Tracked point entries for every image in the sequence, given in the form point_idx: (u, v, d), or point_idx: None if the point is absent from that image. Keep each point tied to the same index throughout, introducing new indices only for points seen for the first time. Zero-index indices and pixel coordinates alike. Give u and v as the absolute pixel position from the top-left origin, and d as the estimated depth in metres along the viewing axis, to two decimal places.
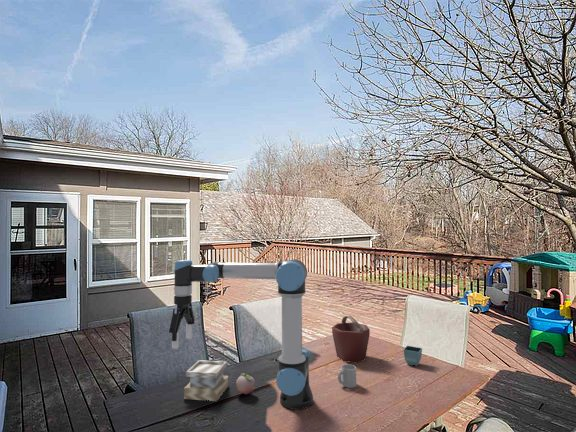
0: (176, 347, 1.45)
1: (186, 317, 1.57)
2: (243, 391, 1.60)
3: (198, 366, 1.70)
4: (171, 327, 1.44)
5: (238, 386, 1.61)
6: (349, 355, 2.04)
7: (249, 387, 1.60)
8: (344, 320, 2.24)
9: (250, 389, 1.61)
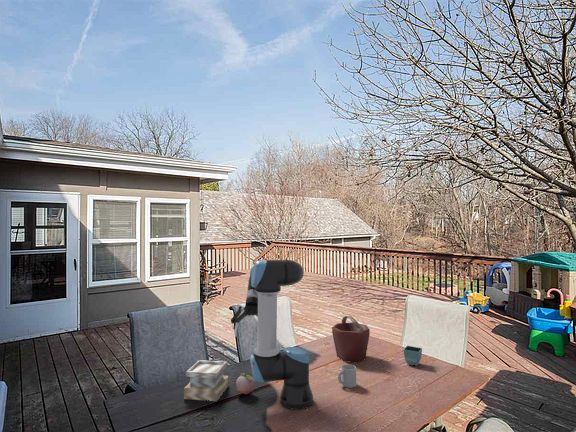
0: None
1: None
2: (243, 391, 1.60)
3: (198, 366, 1.70)
4: None
5: (238, 386, 1.61)
6: (349, 355, 2.04)
7: (249, 387, 1.60)
8: (344, 320, 2.24)
9: (250, 389, 1.61)
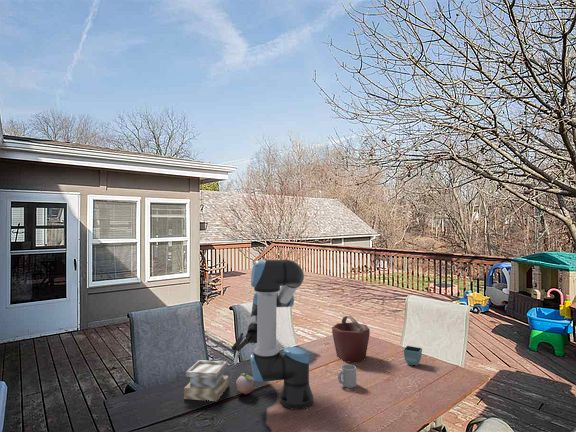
0: None
1: None
2: (243, 391, 1.60)
3: (198, 366, 1.70)
4: None
5: (238, 386, 1.61)
6: (349, 355, 2.04)
7: (249, 387, 1.60)
8: (344, 320, 2.24)
9: (250, 389, 1.61)
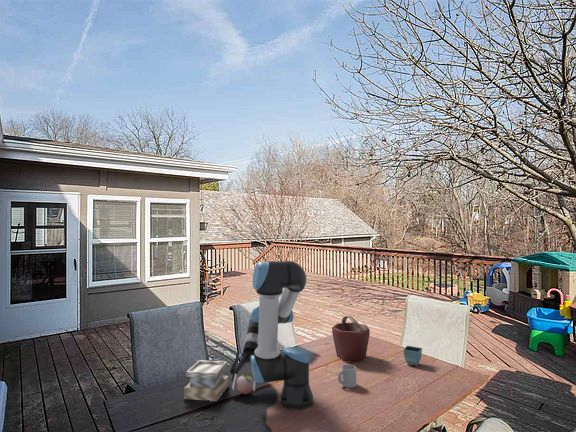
0: None
1: None
2: (243, 391, 1.60)
3: (198, 366, 1.70)
4: None
5: (238, 386, 1.61)
6: (349, 355, 2.04)
7: (249, 387, 1.60)
8: (344, 320, 2.24)
9: (250, 389, 1.61)
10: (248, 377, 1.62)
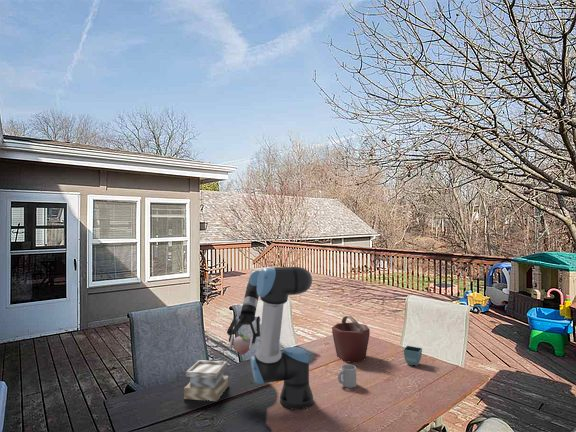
0: None
1: (251, 328, 1.70)
2: (239, 350, 1.62)
3: (198, 366, 1.70)
4: None
5: (234, 346, 1.63)
6: (349, 355, 2.04)
7: (245, 347, 1.62)
8: (344, 320, 2.24)
9: (246, 349, 1.63)
10: (245, 337, 1.64)
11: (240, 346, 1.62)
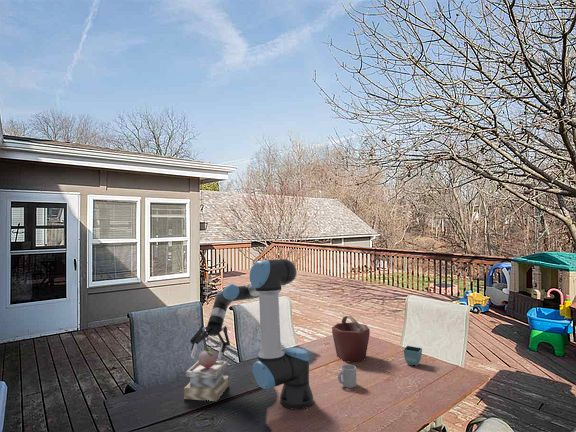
0: None
1: (219, 338, 1.72)
2: (204, 365, 1.64)
3: (198, 366, 1.70)
4: None
5: (199, 360, 1.64)
6: (349, 355, 2.04)
7: (210, 361, 1.64)
8: (344, 320, 2.24)
9: (211, 363, 1.64)
10: (210, 351, 1.66)
11: (205, 360, 1.63)
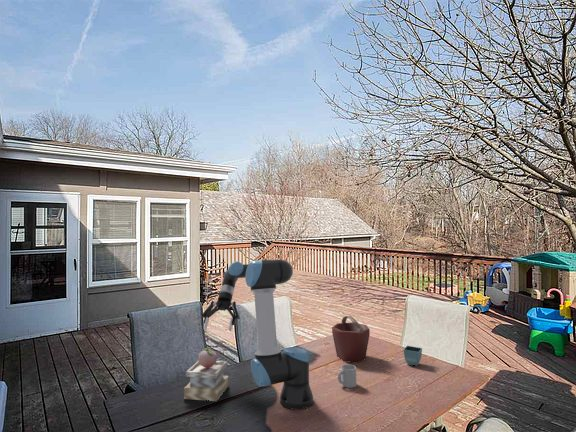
0: None
1: (229, 312, 1.85)
2: (204, 365, 1.64)
3: (198, 366, 1.70)
4: None
5: (199, 360, 1.64)
6: (349, 355, 2.04)
7: (210, 361, 1.64)
8: (344, 320, 2.24)
9: (211, 363, 1.64)
10: (210, 351, 1.66)
11: (205, 360, 1.63)
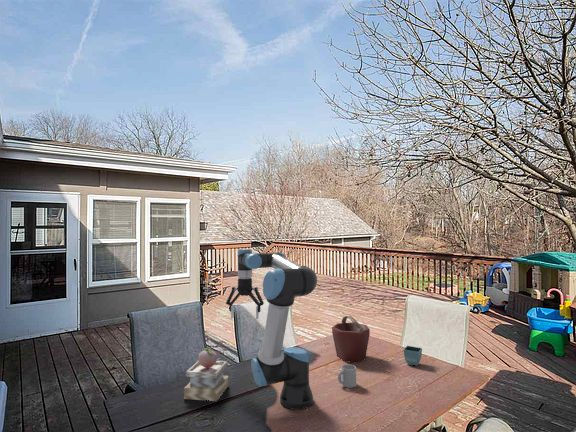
0: None
1: None
2: (204, 365, 1.64)
3: (198, 366, 1.70)
4: None
5: (199, 360, 1.64)
6: (349, 355, 2.04)
7: (210, 361, 1.64)
8: (344, 320, 2.24)
9: (211, 363, 1.64)
10: (210, 351, 1.66)
11: (205, 360, 1.63)
